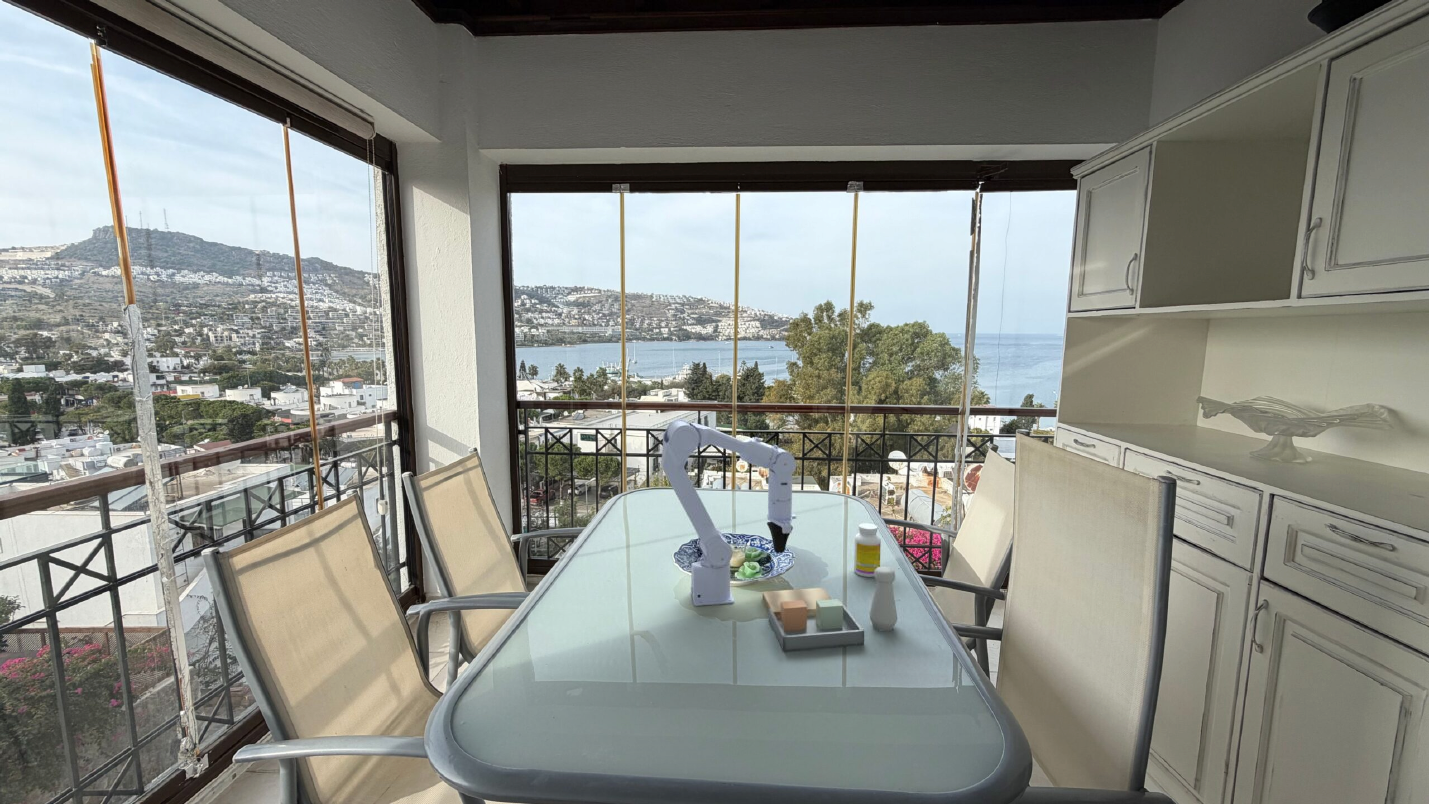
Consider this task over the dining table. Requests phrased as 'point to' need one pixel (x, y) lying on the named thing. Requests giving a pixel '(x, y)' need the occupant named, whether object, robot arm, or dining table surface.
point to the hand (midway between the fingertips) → (779, 551)
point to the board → (794, 599)
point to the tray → (818, 634)
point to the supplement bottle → (867, 550)
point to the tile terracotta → (793, 615)
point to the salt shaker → (883, 600)
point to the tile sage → (829, 614)
